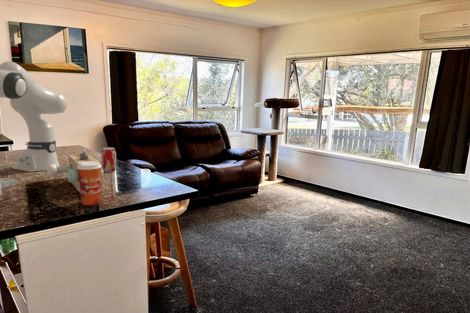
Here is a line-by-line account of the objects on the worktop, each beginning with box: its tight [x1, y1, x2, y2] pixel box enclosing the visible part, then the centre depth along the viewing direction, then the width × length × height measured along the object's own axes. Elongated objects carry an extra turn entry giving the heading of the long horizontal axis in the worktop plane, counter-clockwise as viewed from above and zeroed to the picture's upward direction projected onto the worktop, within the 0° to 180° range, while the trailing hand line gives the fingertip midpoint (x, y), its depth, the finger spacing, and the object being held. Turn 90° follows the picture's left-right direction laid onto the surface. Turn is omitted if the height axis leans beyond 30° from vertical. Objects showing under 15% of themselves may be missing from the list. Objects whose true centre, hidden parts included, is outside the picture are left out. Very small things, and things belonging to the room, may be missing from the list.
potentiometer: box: [79, 148, 89, 160], centre depth 138 cm, size 3×3×4 cm
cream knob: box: [46, 164, 72, 178], centre depth 141 cm, size 13×5×5 cm, turn 127°
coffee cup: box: [77, 161, 102, 206], centre depth 120 cm, size 8×8×15 cm
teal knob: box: [67, 168, 105, 183], centre depth 134 cm, size 13×5×5 cm, turn 127°
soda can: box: [100, 146, 117, 173], centre depth 167 cm, size 7×7×12 cm
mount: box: [68, 153, 103, 194], centre depth 140 cm, size 8×22×12 cm, turn 37°
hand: (15, 181), depth 121 cm, fingers closed
